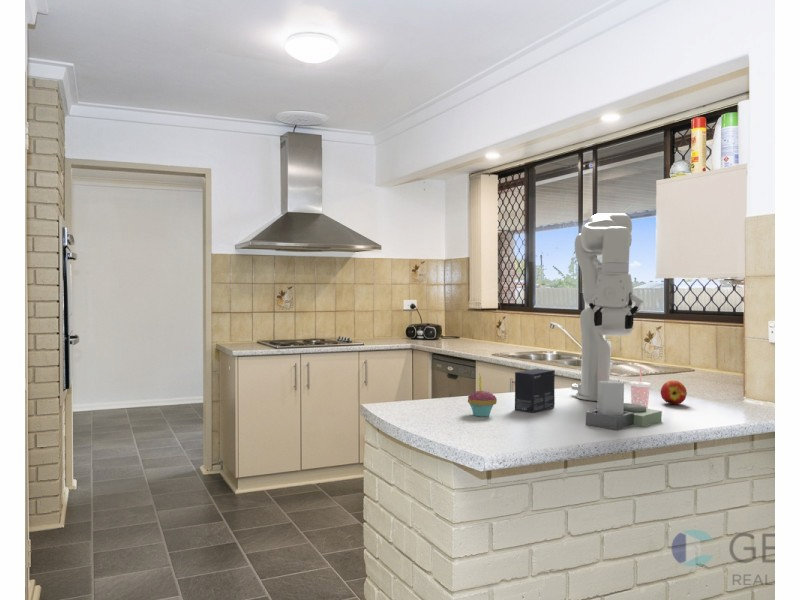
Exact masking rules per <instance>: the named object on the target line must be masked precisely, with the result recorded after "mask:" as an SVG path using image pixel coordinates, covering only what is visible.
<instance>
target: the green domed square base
mask: <svg viewBox="0 0 800 600" xmlns="http://www.w3.org/2000/svg"><path fill="white" fill-rule="evenodd" d="M595 410H597V407H596V409H595ZM624 411H626V412H632V413H634V425H633V426H636V427H641V428H643V427H646V426H650V425H653V424H657V423H660V422H662V416H663V411H662V410H658V409H653V408H652V409H651V408H648V409H646V406H643V405H638V404H631V402H629V403H627V402H624Z"/></svg>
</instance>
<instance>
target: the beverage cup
mask: <svg viewBox="0 0 800 600" xmlns="http://www.w3.org/2000/svg"><path fill="white" fill-rule="evenodd" d="M642 369H643V368H642V366H639V381H629V385H630V398H631V399H630V404H638V405H643V406H646V409H649V398H650V397H649V396H650V389H651V388H650V387H651V385H652V384H651V382H647V381H642Z"/></svg>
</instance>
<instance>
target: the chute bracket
mask: <svg viewBox="0 0 800 600" xmlns="http://www.w3.org/2000/svg"><path fill="white" fill-rule="evenodd" d="M585 425H586V426H590V427H591V426H592V427H596V428H602V429H607V430H613V431H618V430H622V429H626V428H630V427H632V426H634V413H632V412H626V411H624V412H623V414H622V415H618V416H610V415H604V414H599V413H597V410H596V409H595V410H590V411H586V412H585Z"/></svg>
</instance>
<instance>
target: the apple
mask: <svg viewBox="0 0 800 600" xmlns="http://www.w3.org/2000/svg"><path fill="white" fill-rule="evenodd" d="M687 394H688V393H687V388H686V387H685V385H684V384H683V383H682V382H681V381H679V380H675V379H674V380H669V381H666V382H664V384H663V385H662V386H661V388H660V397H661V399H662V400H663V401H664V402H666V403H669V404H670V405H680V404H682V403H683V402H684V401H685V400H686V398H687Z"/></svg>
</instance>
